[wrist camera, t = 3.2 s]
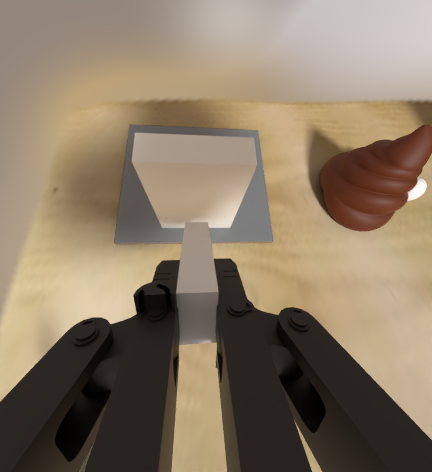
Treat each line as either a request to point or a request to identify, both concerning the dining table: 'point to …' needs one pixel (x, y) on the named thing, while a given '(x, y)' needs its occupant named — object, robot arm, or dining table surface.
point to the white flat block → (194, 176)
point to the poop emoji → (376, 180)
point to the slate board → (150, 231)
